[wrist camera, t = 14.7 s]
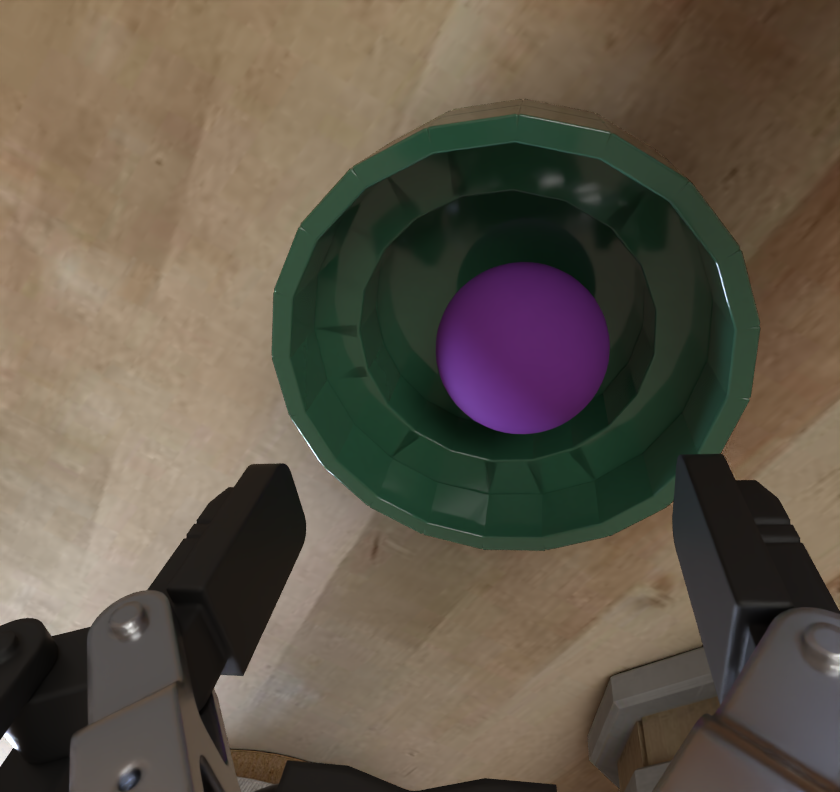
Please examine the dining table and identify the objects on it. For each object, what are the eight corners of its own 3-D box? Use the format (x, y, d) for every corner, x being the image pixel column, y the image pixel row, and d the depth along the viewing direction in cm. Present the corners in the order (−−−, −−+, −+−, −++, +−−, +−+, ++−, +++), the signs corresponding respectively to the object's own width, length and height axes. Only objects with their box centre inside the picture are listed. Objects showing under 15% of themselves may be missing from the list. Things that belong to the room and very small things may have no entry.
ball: (442, 392, 22) (452, 480, 17) (421, 254, 19) (427, 315, 15) (584, 371, 21) (632, 455, 17) (582, 229, 19) (638, 283, 14)
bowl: (363, 464, 25) (328, 547, 21) (284, 133, 19) (211, 159, 15) (694, 458, 22) (729, 554, 18) (730, 64, 16) (797, 71, 12)
